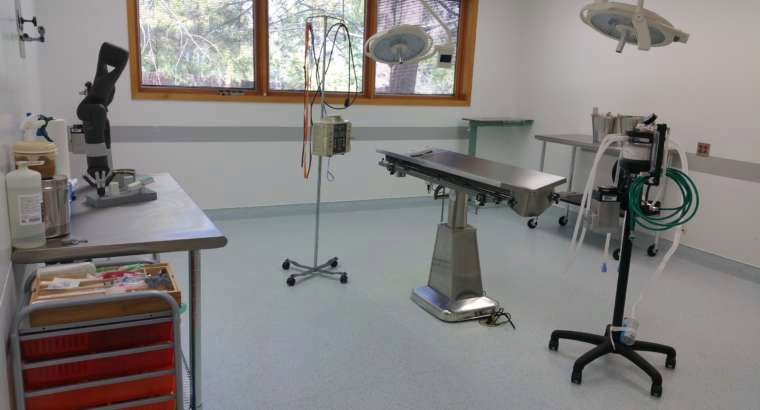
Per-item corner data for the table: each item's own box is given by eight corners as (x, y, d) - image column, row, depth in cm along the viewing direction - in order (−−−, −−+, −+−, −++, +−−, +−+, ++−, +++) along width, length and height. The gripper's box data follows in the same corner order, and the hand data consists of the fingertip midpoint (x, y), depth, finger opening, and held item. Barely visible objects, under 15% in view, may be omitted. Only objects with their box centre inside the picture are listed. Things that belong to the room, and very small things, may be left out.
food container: (144, 190, 251) (141, 168, 249) (137, 193, 245) (134, 171, 243) (118, 189, 252) (116, 168, 250) (111, 192, 246) (108, 170, 244)
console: (86, 201, 229) (84, 188, 228) (144, 193, 245) (142, 181, 244) (97, 208, 218) (95, 194, 217) (157, 198, 234) (155, 186, 233)
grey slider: (124, 189, 238) (122, 176, 236) (132, 188, 240) (130, 175, 238) (127, 190, 235) (125, 178, 234) (135, 189, 237) (133, 177, 236)
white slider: (108, 196, 225) (107, 182, 224) (117, 194, 227) (116, 181, 226) (111, 197, 223) (110, 184, 221) (120, 196, 225) (118, 183, 224)
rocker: (128, 189, 231) (126, 184, 230) (150, 180, 237) (148, 175, 236) (132, 191, 227) (130, 186, 226) (155, 182, 233) (153, 177, 232)
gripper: (111, 151, 224) (115, 192, 229) (75, 154, 216) (81, 196, 220) (117, 153, 219) (121, 195, 223) (81, 157, 210) (86, 200, 215)
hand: (101, 196), depth 222 cm, fingers closed
